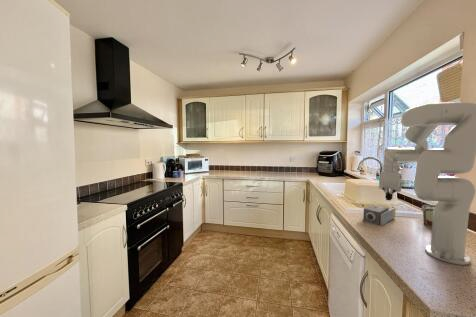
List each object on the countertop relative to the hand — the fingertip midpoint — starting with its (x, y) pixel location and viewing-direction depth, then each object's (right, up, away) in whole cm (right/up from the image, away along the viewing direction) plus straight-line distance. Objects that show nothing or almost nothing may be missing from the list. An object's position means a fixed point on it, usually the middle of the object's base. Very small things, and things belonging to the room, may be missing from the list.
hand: (388, 199), depth 122 cm
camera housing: (-10, -11, -3) cm, 15 cm away
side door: (-5, -11, -6) cm, 13 cm away
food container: (+16, -12, -9) cm, 22 cm away
